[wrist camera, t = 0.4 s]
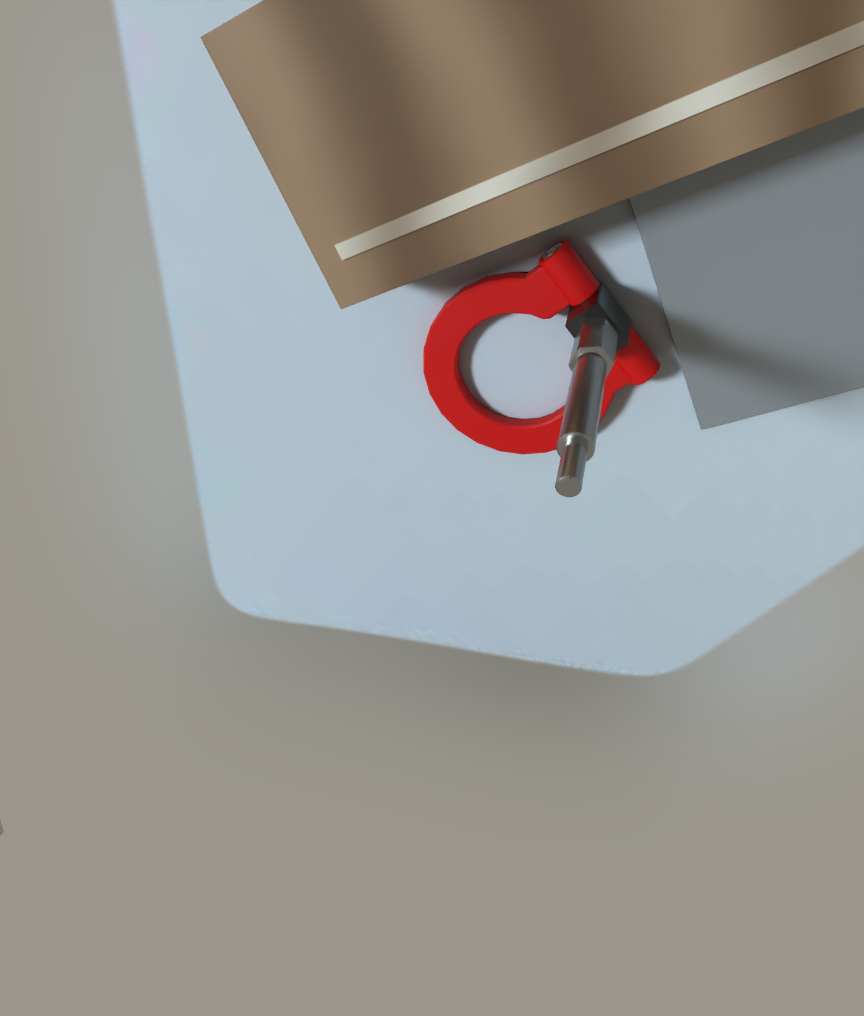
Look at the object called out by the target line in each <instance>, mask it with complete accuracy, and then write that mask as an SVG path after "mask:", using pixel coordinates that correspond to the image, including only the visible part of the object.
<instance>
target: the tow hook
mask: <svg viewBox="0 0 864 1016" xmlns="http://www.w3.org/2000/svg"><path fill="white" fill-rule="evenodd" d="M569 305H571V306H570V309H569V313H568V317H567V321H566V328H567V329H568V330H569V332H570V333H571V334H572V336H573V337H574V338H575V340H574V345H573V349H572V353H571V357H570V362H569V367H570V369H571V371H572V372H573V374H572V378H571V383H570V387H569V392H568V397H567V401H566V405H564V406H563V407H561V408H560V409H558V410H557V411H555V412H554V413H552V414H549V415H546V416H543V417H540V418H535V419H525V420H522V419H515V418H507V417H505V416H502V415H499V414H497V413H494V412H492V411H491V410H489V409H488V408H486V407H484V406H483V405H481V404H480V403H479V402H478V401H477V400H476V399H475V398H474V397H473V396H472V394H471V393H470V392H469V390H468V389H467V387H466V385H465V383H464V381H463V379H462V375H461V371H460V368H459V351H460V348H461V345H462V342H463V340H464V339H465V337H466V336H467V334H468V333H469V332H470V331H471V330H472V329H473V328H474V327H476V326H477V325H478V324H479V323H481V322H482V321H484V320H486V319H489V318H491V317H494V316H496V315H501V314H508V313H522V314H531V315H534V316H536V317H539V318H542V319H549V318H552V317H553V316H554V315H556V314H557V313H559V312H560V311H562V310H563V309H565V308H566V307H568V306H569ZM659 368H660V363H659V362H658V360H657V359H656V358H655V356H654V355H653V354H652V352H651V351H650V350H649V348H648V347H647V346H646V344H645V343H644V342H643V340H642V339H641V338H640V336H639V335H638V334H637V332H636V331H635V330H634V328H633V327H632V326H631V321H630V319H629V317H628V316H627V315H626V313H625V312H624V311H623V309H622V308H621V307H620V305H619V304H618V303H617V302H616V300H615V299H614V298H613V296H612V295H611V294H610V292H609V291H608V290H607V288H606V287H605V286H604V284H602V283H600V282H598V281H597V279H596V278H595V277H594V275H593V274H592V273H591V271H590V270H589V269H588V267H587V266H586V265H585V263H584V262H583V261H582V259H581V258H580V257H579V255H578V254H577V253H576V251H575V250H574V249H573V247H572V246H571V245H570V243H569V242H568V241H567V240H566V239H565V240H562V241H560V242H559V243H557V244H555V245H554V246H552V247H551V248H550V249H549V250H548V251H547V252H546V253H545V254H544V255H543V256H542V257H541V259H540V260H539V265H538V266H536V267H535V268H534V269H532V270H531V271H530V272H528V273H519V272H511V273H505V274H498V275H492V276H487V277H485V278H483V279H480V280H478V281H476V282H474V283H472V284H469V285H467V286H465V287H464V288H462V289H461V290H460V291H459V292H458V293H456V294H455V295H454V296H453V297H452V298H451V299H449V300H448V301H447V302H446V303H445V305H444V306H443V308H442V309H441V311H440V312H439V314H438V315H437V317H436V318H435V320H434V321H433V323H432V325H431V327H430V329H429V333H428V336H427V340H426V343H425V346H424V375H425V379H426V382H427V386H428V389H429V393H430V395H431V397H432V398H433V400H434V402H435V404H436V405H437V407H438V409H439V410H440V412H441V414H442V415H443V416H444V417H445V418H446V419H447V420H448V421H449V422H450V423H451V424H452V425H453V426H454V427H455V428H456V429H457V430H458V431H460V432H461V433H463V434H464V435H466V436H468V437H469V438H471V439H472V440H474V441H475V442H477V443H479V444H482V445H485V446H487V447H490V448H493V449H495V450H498V451H503V452H510V453H517V454H533V453H545V452H549V451H552V450H555V449H557V452H558V454H559V456H560V457H561V460H560V465H559V469H558V474H557V479H556V484H555V488H556V490H557V492H558V493H559V494H560V495H562V496H565V497H574V496H576V495H578V494H579V493H580V491H581V489H582V483H583V477H584V471H585V464H586V462H587V461H588V460H589V459H591V457H592V456H593V454H594V451H595V445H596V438H597V432H598V425H599V421H600V420H601V418H602V417H603V416H604V415H605V413H606V411H607V409H608V406H609V404H610V402H611V400H612V398H613V396H614V392H616V391H618V390H619V389H621V388H623V387H625V386H626V385H628V384H630V383H632V384H633V385H640V384H642V383H644V382H646V381H647V380H649V379H650V378H652V377H653V376H654V375H655V374H656V373H657V371H658V370H659Z"/></svg>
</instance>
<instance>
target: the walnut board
mask: <svg viewBox="0 0 864 1016" xmlns="http://www.w3.org/2000/svg"><path fill="white" fill-rule="evenodd" d="M201 39H202V41H203V43H204V45H205V47H206V49H207V51H208V53H209V55H210V57H211V59H212V61H213V62H214V64H215V66H216V68H217V70H218V72H219V74H220V76H221V78H222V80H223V82H224V84H225V86H226V88H227V90H228V91H229V93H230V95H231V97H232V99H233V101H234V103H235V105H236V107H237V109H238V111H239V113H240V115H241V117H242V119H243V120H244V122H245V124H246V126H247V128H248V130H249V132H250V134H251V136H252V138H253V140H254V142H255V144H256V146H257V148H258V149H259V151H260V153H261V155H262V157H263V159H264V161H265V163H266V165H267V167H268V169H269V171H270V173H271V175H272V177H273V178H274V180H275V182H276V184H277V186H278V188H279V190H280V192H281V194H282V196H283V198H284V200H285V202H286V204H287V206H288V207H289V209H290V211H291V213H292V215H293V217H294V219H295V221H296V223H297V225H298V227H299V229H300V231H301V233H302V235H303V236H304V238H305V240H306V242H307V244H308V246H309V248H310V250H311V252H312V254H313V256H314V258H315V260H316V262H317V264H318V265H319V267H320V269H321V271H322V273H323V275H324V277H325V279H326V281H327V283H328V285H329V287H330V289H331V291H332V293H333V294H334V296H335V298H336V300H337V302H338V304H339V306H340V308H341V309H343V308H346V307H348V306H351V305H354V304H356V303H359V302H361V301H364V300H366V299H369V298H372V297H374V296H377V295H379V294H382V293H385V292H387V291H390V290H392V289H395V288H398V287H400V286H403V285H405V284H408V283H410V282H413V281H416V280H418V279H421V278H423V277H426V276H429V275H431V274H434V273H436V272H439V271H442V270H444V269H447V268H449V267H452V266H454V265H457V264H460V263H462V262H465V261H467V260H470V259H473V258H475V257H478V256H480V255H483V254H485V253H488V252H491V251H493V250H496V249H498V248H501V247H504V246H506V245H509V244H511V243H514V242H517V241H519V240H522V239H524V238H527V237H529V236H532V235H535V234H537V233H540V232H542V231H545V230H548V229H550V228H553V227H555V226H558V225H560V224H563V223H566V222H568V221H571V220H573V219H576V218H579V217H581V216H584V215H586V214H589V213H592V212H594V211H597V210H599V209H602V208H604V207H607V206H610V205H612V204H615V203H617V202H620V201H623V200H625V199H628V198H630V197H633V196H635V195H638V194H641V193H643V192H646V191H648V190H651V189H654V188H656V187H659V186H661V185H664V184H667V183H669V182H672V181H674V180H677V179H679V178H682V177H685V176H687V175H690V174H692V173H695V172H698V171H700V170H703V169H705V168H708V167H710V166H713V165H716V164H718V163H721V162H723V161H726V160H729V159H731V158H734V157H736V156H739V155H742V154H744V153H747V152H749V151H752V150H754V149H757V148H760V147H762V146H765V145H767V144H770V143H773V142H775V141H778V140H780V139H783V138H785V137H788V136H791V135H793V134H796V133H798V132H801V131H804V130H806V129H809V128H811V127H814V126H817V125H819V124H822V123H824V122H827V121H829V120H832V119H835V118H837V117H840V116H842V115H845V114H848V113H850V112H853V111H855V110H858V109H860V108H863V107H864V0H263V1H262V2H260V3H258V4H256V5H255V6H253V7H251V8H250V9H248V10H246V11H244V12H243V13H241V14H239V15H238V16H236V17H234V18H233V19H231V20H229V21H227V22H226V23H224V24H222V25H221V26H219V27H217V28H215V29H214V30H212V31H210V32H209V33H207V34H205V35H204V36H202V37H201Z"/></svg>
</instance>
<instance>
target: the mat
mask: <svg viewBox="0 0 864 1016" xmlns="http://www.w3.org/2000/svg"><path fill="white" fill-rule="evenodd" d="M629 199H630V202H631V205H632V208H633V212H634V215H635V218H636V221H637V225H638V228H639V231H640V234H641V237H642V241H643V244H644V247H645V250H646V254H647V257H648V260H649V263H650V267H651V270H652V273H653V276H654V279H655V283H656V286H657V289H658V292H659V296H660V299H661V302H662V305H663V308H664V312H665V315H666V318H667V321H668V325H669V328H670V331H671V334H672V337H673V341H674V344H675V347H676V350H677V354H678V357H679V360H680V363H681V367H682V370H683V373H684V376H685V379H686V383H687V386H688V389H689V392H690V396H691V399H692V402H693V405H694V408H695V412H696V415H697V418H698V421H699V425H700V428H701V430H703V429H706V428H710V427H714V426H718V425H722V424H725V423H729V422H733V421H737V420H740V419H744V418H748V417H752V416H755V415H759V414H763V413H767V412H771V411H774V410H778V409H782V408H786V407H789V406H793V405H797V404H801V403H805V402H808V401H812V400H816V399H820V398H823V397H827V396H831V395H835V394H839V393H842V392H846V391H850V390H854V389H857V388H861V387H864V107H863V108H860V109H858V110H855V111H853V112H850V113H848V114H845V115H842V116H840V117H837V118H835V119H832V120H829V121H827V122H824V123H822V124H819V125H817V126H814V127H811V128H809V129H806V130H804V131H801V132H798V133H796V134H793V135H791V136H788V137H785V138H783V139H780V140H778V141H775V142H773V143H770V144H767V145H765V146H762V147H760V148H757V149H754V150H752V151H749V152H747V153H744V154H742V155H739V156H736V157H734V158H731V159H729V160H726V161H723V162H721V163H718V164H716V165H713V166H710V167H708V168H705V169H703V170H700V171H698V172H695V173H692V174H690V175H687V176H685V177H682V178H679V179H677V180H674V181H672V182H669V183H667V184H664V185H661V186H659V187H656V188H654V189H651V190H648V191H646V192H643V193H641V194H638V195H635V196H633V197H630V198H629Z"/></svg>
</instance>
